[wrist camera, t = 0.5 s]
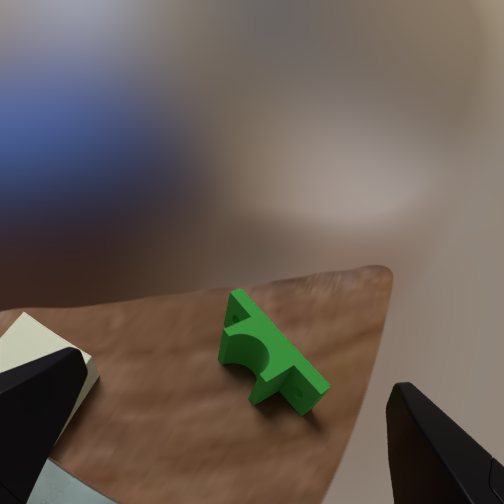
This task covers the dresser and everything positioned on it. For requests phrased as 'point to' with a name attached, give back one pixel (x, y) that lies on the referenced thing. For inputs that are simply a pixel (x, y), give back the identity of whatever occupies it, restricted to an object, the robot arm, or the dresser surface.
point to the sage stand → (39, 351)
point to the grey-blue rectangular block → (65, 488)
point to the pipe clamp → (268, 356)
